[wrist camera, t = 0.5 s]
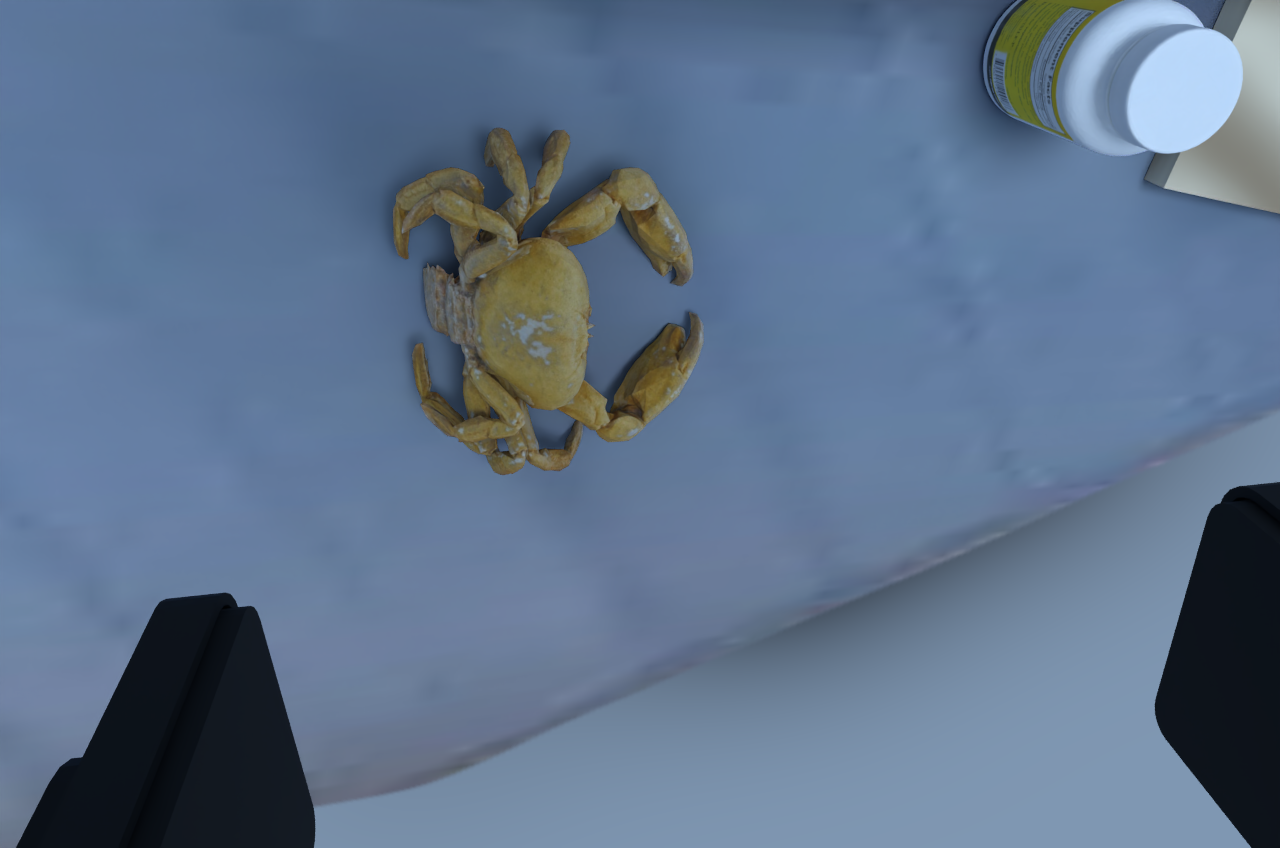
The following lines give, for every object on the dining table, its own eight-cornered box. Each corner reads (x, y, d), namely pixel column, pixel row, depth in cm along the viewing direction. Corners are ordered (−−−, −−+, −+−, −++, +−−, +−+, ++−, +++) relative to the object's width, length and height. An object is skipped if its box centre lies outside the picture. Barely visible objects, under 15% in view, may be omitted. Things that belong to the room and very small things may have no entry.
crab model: (696, 430, 48) (719, 492, 43) (430, 453, 46) (423, 519, 42) (699, 102, 40) (727, 132, 35) (381, 118, 39) (365, 152, 34)
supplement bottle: (1131, 20, 40) (1299, 56, 32) (1050, 141, 42) (1188, 204, 34) (1032, -45, 39) (1182, -27, 30) (953, 83, 41) (1072, 135, 32)
